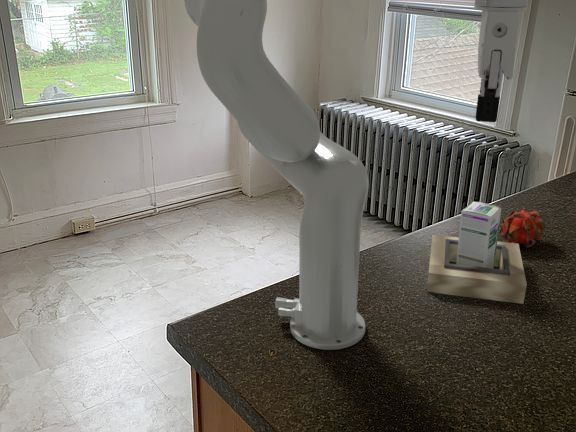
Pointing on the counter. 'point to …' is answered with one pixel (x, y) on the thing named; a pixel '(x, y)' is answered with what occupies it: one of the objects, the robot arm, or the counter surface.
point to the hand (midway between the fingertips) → (485, 120)
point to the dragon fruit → (523, 227)
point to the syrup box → (478, 235)
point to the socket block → (476, 273)
